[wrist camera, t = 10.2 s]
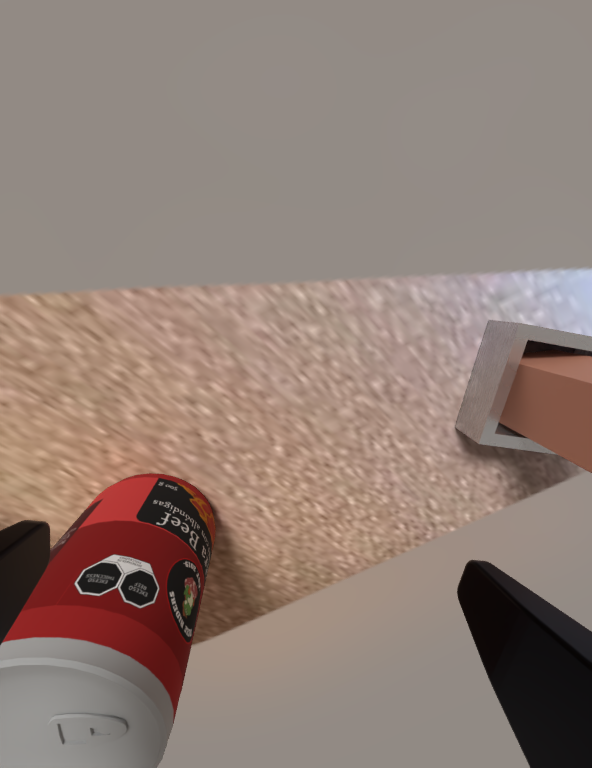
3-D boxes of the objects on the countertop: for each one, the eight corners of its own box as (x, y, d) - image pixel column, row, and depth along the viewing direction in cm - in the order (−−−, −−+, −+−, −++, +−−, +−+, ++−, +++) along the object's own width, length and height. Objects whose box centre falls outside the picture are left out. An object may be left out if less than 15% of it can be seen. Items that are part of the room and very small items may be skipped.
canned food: (232, 550, 22) (199, 780, 12) (121, 581, 22) (-15, 842, 12) (195, 453, 20) (113, 628, 10) (71, 488, 20) (-150, 702, 10)
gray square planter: (454, 427, 21) (478, 444, 19) (488, 319, 19) (520, 323, 17) (549, 440, 22) (584, 458, 20) (590, 338, 20) (633, 344, 18)
